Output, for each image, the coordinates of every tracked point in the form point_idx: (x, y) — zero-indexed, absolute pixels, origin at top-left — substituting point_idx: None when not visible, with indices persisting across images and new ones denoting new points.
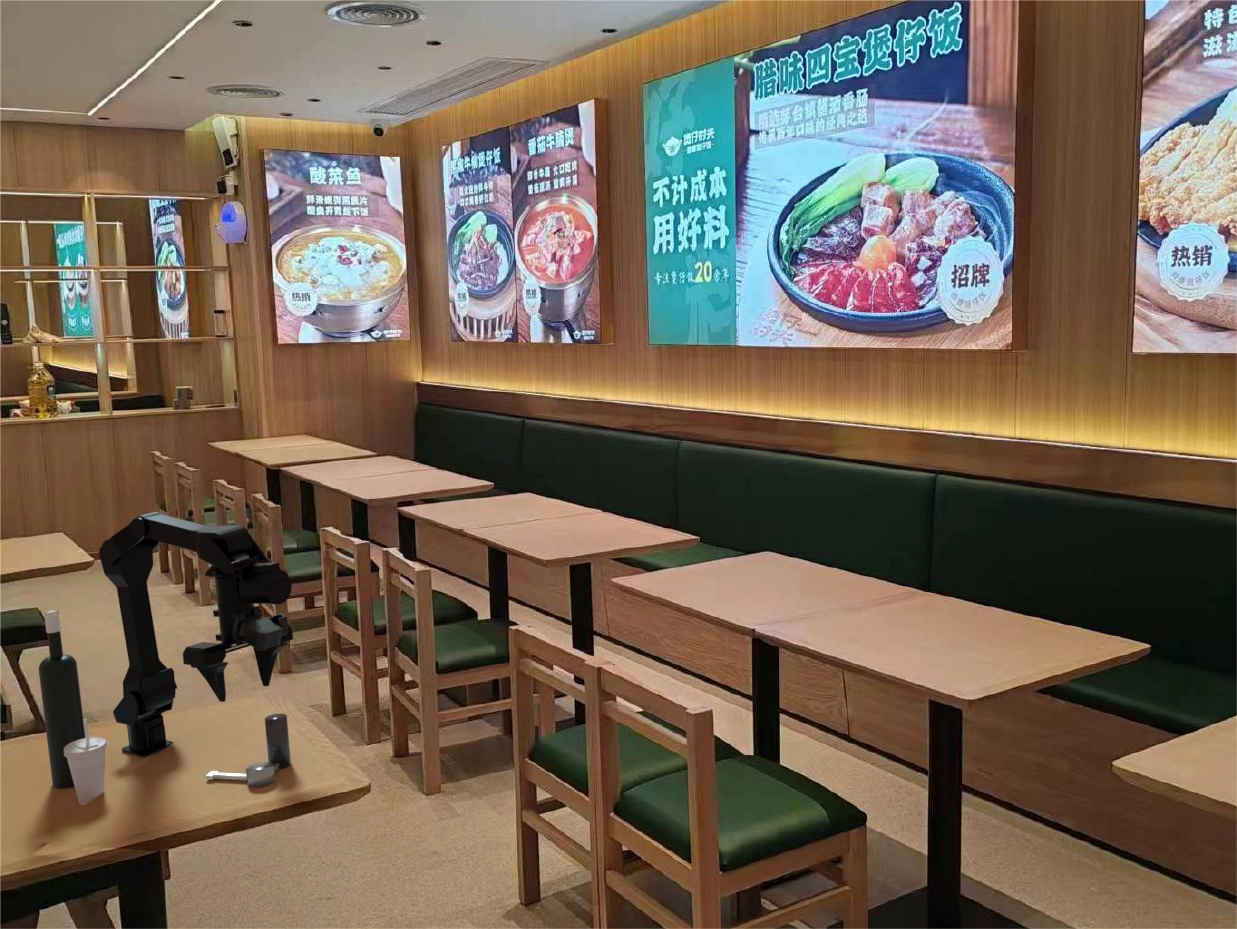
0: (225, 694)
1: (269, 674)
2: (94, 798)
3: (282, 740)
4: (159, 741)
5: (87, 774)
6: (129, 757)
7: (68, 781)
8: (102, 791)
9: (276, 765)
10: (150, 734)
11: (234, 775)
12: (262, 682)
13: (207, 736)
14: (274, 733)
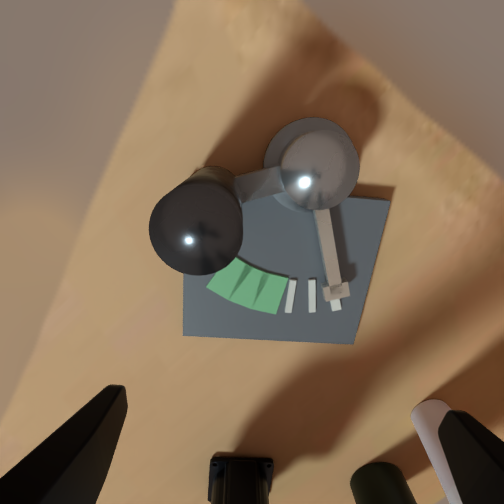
0: (485, 447)
1: (61, 452)
2: (448, 408)
3: (217, 177)
4: (244, 474)
5: None
6: (277, 475)
7: (403, 478)
8: (437, 413)
9: (249, 174)
10: (258, 499)
11: (331, 236)
12: (120, 431)
13: (154, 438)
14: (236, 199)
